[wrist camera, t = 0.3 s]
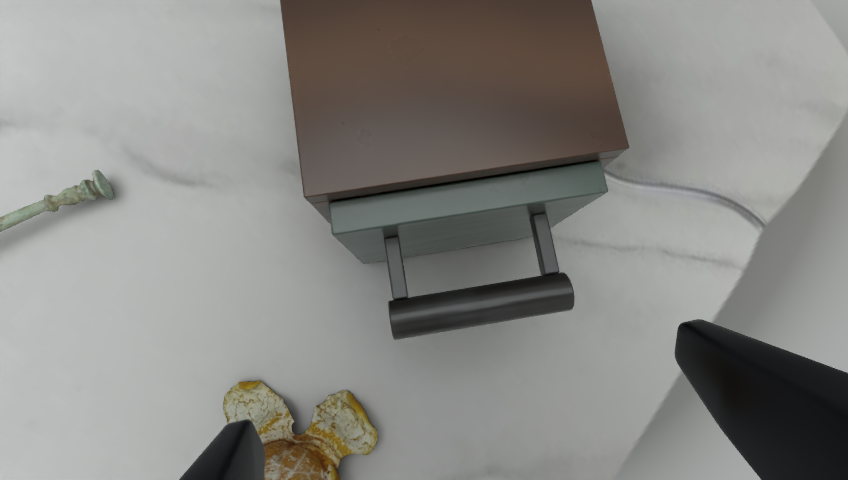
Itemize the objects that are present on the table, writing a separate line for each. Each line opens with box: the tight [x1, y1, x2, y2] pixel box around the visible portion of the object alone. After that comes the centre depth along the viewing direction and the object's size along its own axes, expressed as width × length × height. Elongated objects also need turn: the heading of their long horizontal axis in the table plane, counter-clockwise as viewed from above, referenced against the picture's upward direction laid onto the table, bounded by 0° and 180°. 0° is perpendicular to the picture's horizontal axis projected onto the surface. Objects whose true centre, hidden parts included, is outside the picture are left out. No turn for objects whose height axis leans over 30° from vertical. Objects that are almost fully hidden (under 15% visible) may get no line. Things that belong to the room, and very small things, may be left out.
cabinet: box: [280, 0, 629, 224], centre depth 21 cm, size 14×11×11 cm
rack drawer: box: [328, 161, 608, 340], centre depth 20 cm, size 16×10×9 cm, turn 9°
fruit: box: [223, 381, 378, 480], centre depth 20 cm, size 8×8×4 cm
